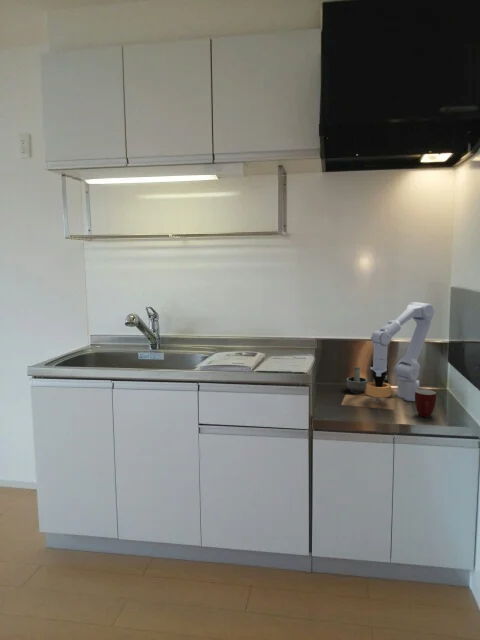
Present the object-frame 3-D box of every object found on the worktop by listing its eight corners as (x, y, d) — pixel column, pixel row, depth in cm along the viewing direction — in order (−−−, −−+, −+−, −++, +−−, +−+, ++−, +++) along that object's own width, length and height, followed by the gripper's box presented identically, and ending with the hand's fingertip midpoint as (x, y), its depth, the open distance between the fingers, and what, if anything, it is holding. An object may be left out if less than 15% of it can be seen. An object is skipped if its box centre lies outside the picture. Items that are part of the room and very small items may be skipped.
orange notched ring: (390, 391, 220) (391, 382, 219) (389, 398, 210) (390, 388, 210) (367, 389, 223) (367, 381, 222) (365, 396, 214) (365, 386, 213)
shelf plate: (395, 401, 224) (396, 391, 223) (394, 412, 209) (394, 401, 208) (345, 397, 231) (345, 387, 230) (340, 407, 216) (341, 396, 215)
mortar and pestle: (367, 397, 230) (367, 371, 229) (346, 396, 232) (346, 370, 231) (366, 390, 241) (367, 366, 240) (346, 389, 243) (347, 365, 242)
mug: (439, 421, 198) (440, 396, 196) (418, 421, 198) (419, 396, 197) (432, 412, 208) (433, 389, 207) (412, 412, 209) (413, 389, 207)
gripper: (371, 354, 227) (371, 383, 228) (369, 361, 213) (368, 392, 215) (388, 355, 224) (387, 385, 226) (386, 362, 211) (385, 393, 213)
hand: (379, 388), depth 220 cm, fingers closed on orange notched ring, 2 cm apart
